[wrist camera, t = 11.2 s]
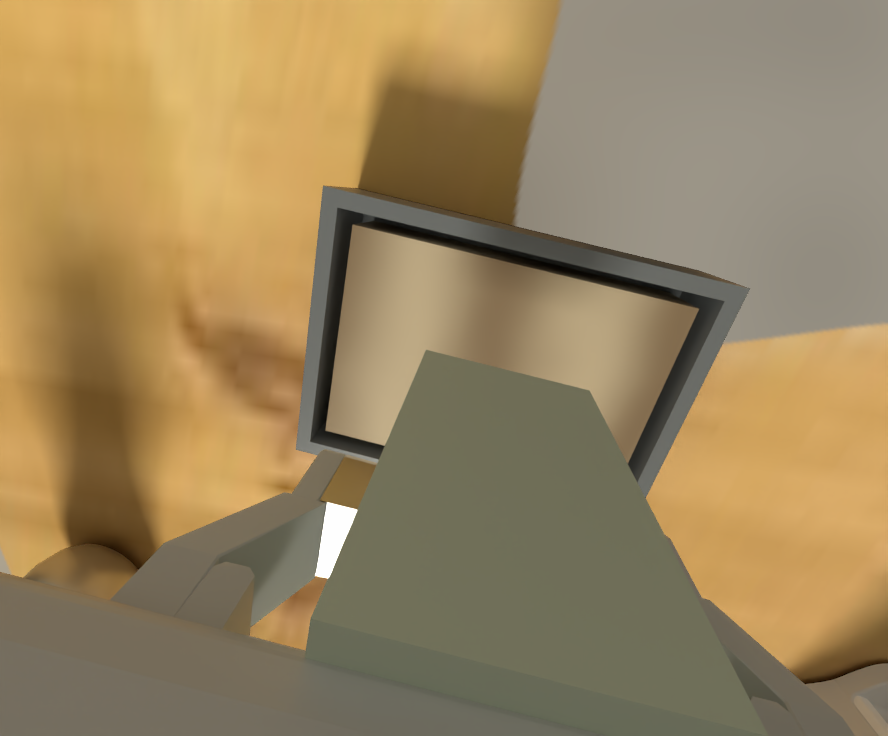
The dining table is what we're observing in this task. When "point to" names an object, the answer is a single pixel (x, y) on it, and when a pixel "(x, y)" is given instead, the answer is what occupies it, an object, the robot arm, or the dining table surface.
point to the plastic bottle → (85, 570)
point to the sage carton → (522, 567)
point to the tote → (360, 206)
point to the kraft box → (494, 328)
